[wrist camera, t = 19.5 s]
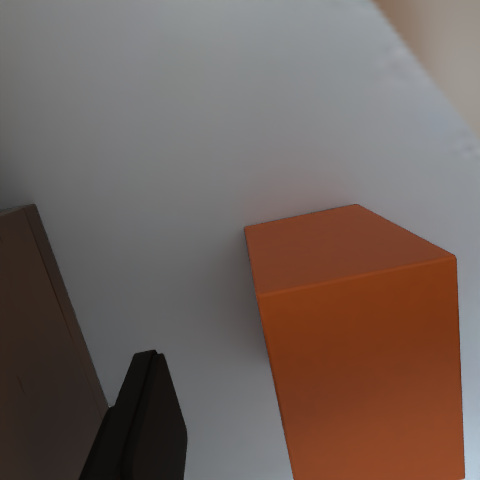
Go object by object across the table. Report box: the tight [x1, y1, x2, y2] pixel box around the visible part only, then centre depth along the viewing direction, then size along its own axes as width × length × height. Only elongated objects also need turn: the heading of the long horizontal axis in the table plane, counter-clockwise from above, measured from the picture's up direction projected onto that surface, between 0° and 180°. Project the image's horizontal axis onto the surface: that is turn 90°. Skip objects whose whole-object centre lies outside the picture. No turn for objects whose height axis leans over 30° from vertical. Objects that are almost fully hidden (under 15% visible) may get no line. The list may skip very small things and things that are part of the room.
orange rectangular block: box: [244, 204, 465, 480], centre depth 11 cm, size 6×4×6 cm
